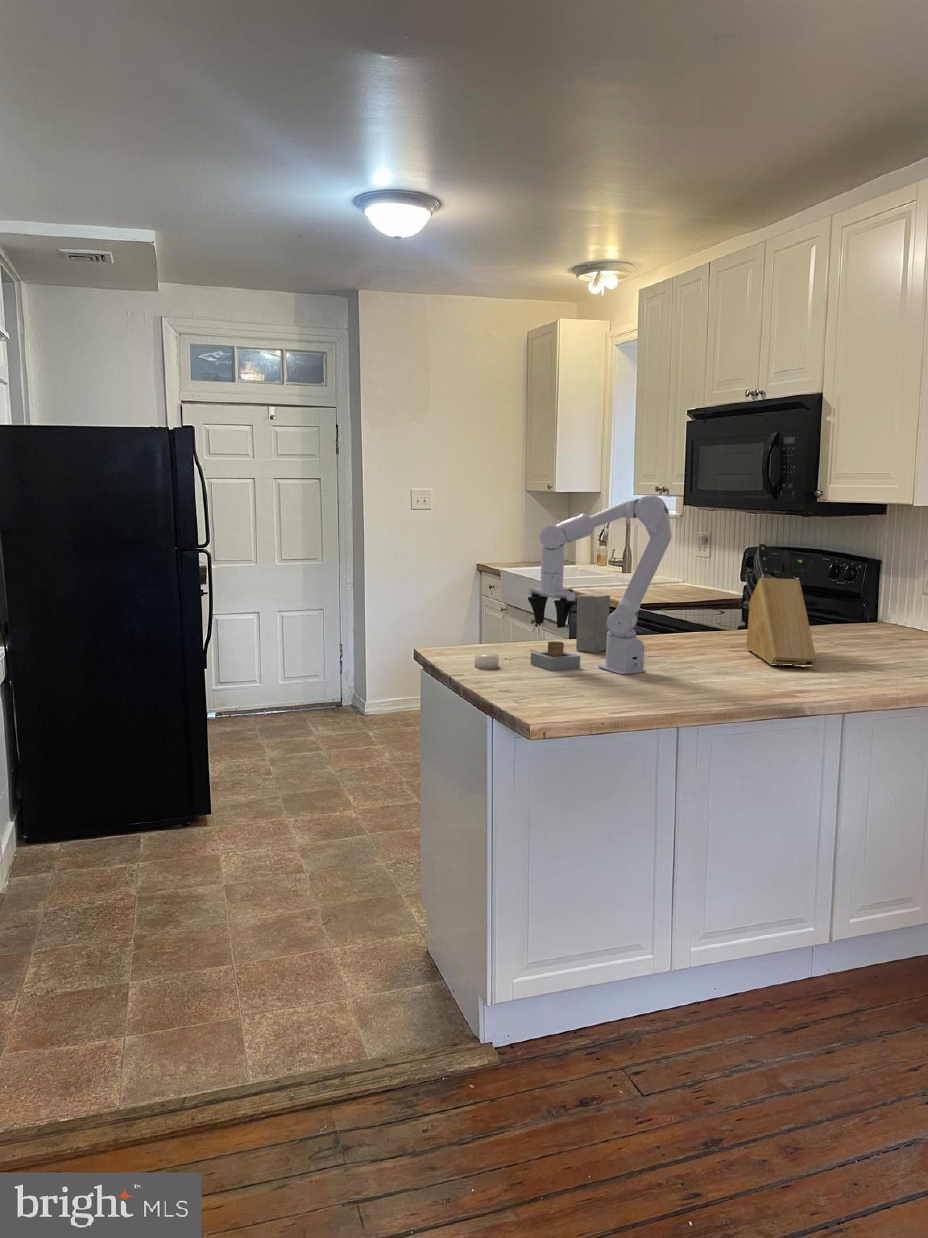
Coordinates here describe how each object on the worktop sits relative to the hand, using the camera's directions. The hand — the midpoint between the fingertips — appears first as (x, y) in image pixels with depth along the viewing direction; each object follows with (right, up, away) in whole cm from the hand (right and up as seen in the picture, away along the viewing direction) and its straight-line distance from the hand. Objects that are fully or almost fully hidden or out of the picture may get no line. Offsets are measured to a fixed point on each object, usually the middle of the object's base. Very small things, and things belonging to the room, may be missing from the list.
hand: (550, 625), depth 230 cm
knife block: (+64, -9, +18) cm, 67 cm away
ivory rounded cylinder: (-16, -10, -4) cm, 20 cm away
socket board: (+1, -10, -2) cm, 10 cm away
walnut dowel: (+1, -10, -2) cm, 11 cm away
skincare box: (+14, -7, +21) cm, 26 cm away
